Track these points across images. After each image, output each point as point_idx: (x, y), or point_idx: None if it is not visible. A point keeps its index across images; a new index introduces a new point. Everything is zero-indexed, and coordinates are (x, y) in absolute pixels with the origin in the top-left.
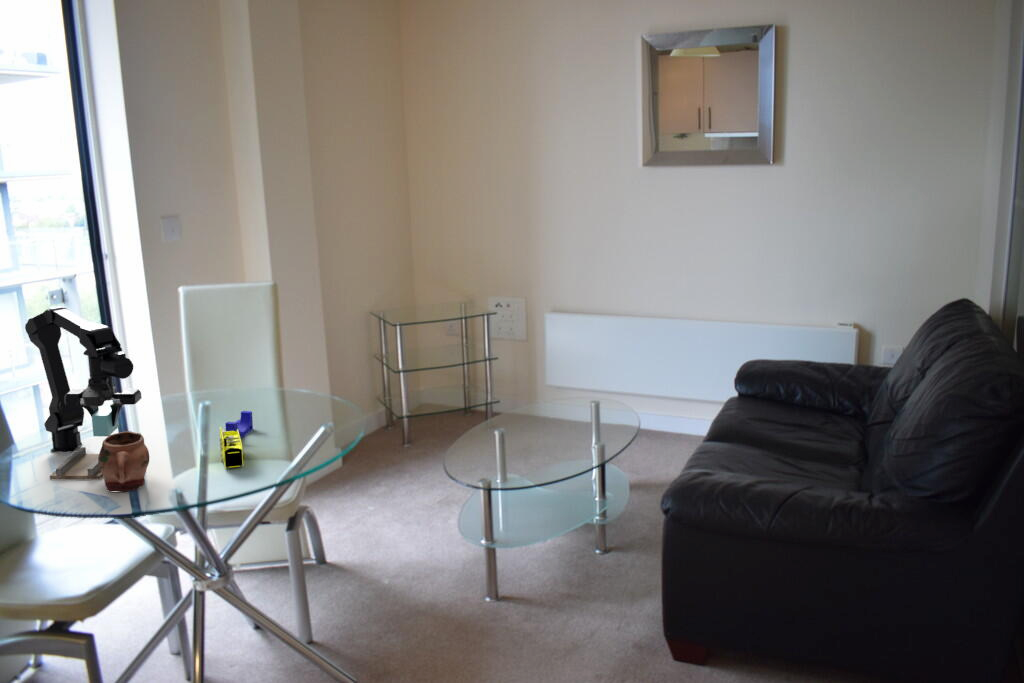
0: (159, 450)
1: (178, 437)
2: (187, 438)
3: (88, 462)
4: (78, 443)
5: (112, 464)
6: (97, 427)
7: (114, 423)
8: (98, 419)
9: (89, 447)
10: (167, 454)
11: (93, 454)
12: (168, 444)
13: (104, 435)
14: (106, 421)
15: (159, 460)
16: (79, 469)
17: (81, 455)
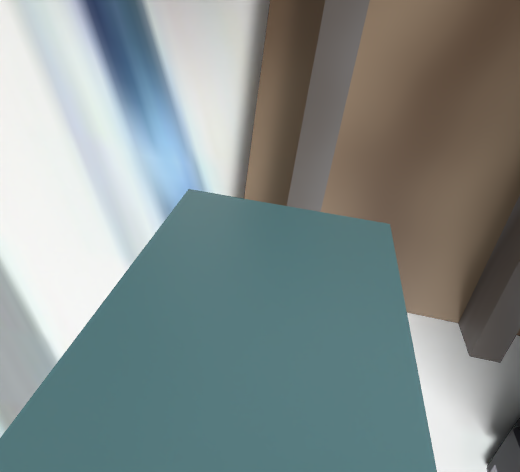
0: (73, 315)
1: None
2: (13, 414)
3: (431, 169)
4: (511, 453)
5: None
6: (317, 288)
7: None
8: (261, 415)
9: (444, 428)
10: (7, 254)
11: (409, 304)
12: None
13: (239, 205)
14: (94, 336)
15: (6, 173)
16: (497, 19)
17: (489, 277)
